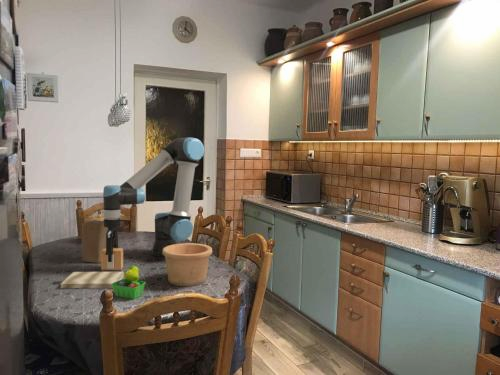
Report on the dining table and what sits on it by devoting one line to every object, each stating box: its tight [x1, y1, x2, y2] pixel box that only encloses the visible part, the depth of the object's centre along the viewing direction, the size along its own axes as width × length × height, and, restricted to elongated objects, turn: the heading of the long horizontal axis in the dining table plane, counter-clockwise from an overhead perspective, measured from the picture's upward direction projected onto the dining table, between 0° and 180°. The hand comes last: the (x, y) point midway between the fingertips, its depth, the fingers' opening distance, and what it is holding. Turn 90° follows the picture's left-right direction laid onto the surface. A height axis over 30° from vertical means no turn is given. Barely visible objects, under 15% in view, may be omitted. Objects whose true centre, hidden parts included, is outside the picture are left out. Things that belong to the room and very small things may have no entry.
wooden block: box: [81, 220, 108, 264], centre depth 204 cm, size 10×10×20 cm
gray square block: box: [54, 277, 67, 285], centre depth 171 cm, size 4×4×2 cm
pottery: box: [162, 242, 213, 287], centre depth 178 cm, size 22×22×14 cm
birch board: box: [60, 271, 125, 289], centre depth 173 cm, size 22×16×2 cm
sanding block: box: [100, 247, 124, 272], centre depth 189 cm, size 9×5×10 cm, turn 97°
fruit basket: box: [112, 264, 147, 300], centre depth 158 cm, size 11×9×11 cm
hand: (112, 265), depth 190 cm, fingers open, 7 cm apart
